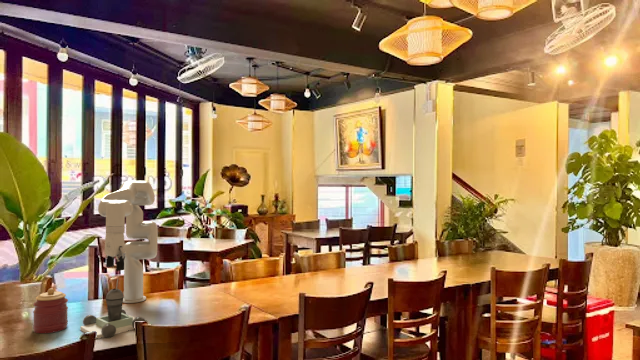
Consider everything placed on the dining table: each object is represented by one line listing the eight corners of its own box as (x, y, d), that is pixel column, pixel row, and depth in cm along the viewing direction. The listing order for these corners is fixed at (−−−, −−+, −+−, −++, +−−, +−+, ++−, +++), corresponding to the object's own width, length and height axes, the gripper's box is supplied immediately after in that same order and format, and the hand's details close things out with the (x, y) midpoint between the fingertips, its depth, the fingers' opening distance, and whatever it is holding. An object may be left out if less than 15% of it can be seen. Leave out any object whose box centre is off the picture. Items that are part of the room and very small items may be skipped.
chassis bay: (78, 328, 193) (78, 317, 193) (127, 317, 210) (127, 306, 210) (98, 340, 180) (98, 328, 180) (149, 327, 196) (150, 315, 196)
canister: (74, 325, 198) (75, 285, 198) (51, 335, 185) (51, 293, 185) (50, 323, 201) (50, 284, 201) (25, 332, 188) (25, 291, 188)
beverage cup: (109, 321, 198) (109, 277, 198) (126, 321, 199) (126, 277, 199) (102, 327, 191) (103, 280, 191) (120, 326, 192) (120, 280, 192)
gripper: (98, 228, 198) (97, 266, 198) (115, 232, 187) (115, 273, 187) (114, 227, 204) (114, 264, 204) (133, 230, 192) (132, 270, 193)
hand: (115, 268), depth 195 cm, fingers open, 9 cm apart
